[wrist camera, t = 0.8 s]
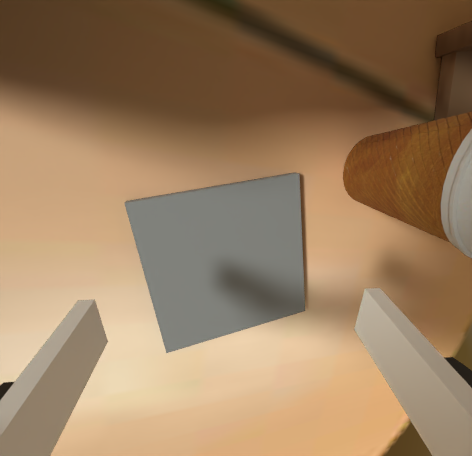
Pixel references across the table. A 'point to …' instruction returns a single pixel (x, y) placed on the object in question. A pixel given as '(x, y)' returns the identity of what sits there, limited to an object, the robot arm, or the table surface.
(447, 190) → the disposable coffee cup
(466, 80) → the offcut rack
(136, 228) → the slate mat
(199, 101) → the table surface
